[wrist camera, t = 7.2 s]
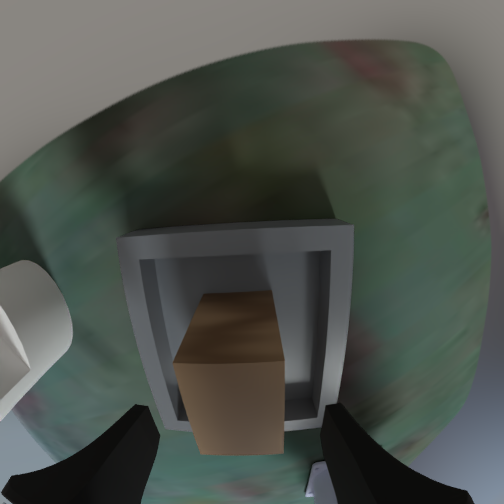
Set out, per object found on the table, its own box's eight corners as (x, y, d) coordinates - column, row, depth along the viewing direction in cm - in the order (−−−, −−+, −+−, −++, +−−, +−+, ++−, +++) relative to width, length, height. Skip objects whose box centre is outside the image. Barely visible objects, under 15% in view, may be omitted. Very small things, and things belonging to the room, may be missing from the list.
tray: (323, 399, 19) (332, 425, 16) (174, 403, 19) (165, 428, 16) (336, 218, 15) (354, 224, 13) (138, 229, 16) (116, 237, 13)
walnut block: (271, 290, 16) (285, 360, 9) (274, 371, 17) (283, 453, 10) (203, 293, 16) (172, 362, 9) (215, 373, 17) (200, 454, 10)
